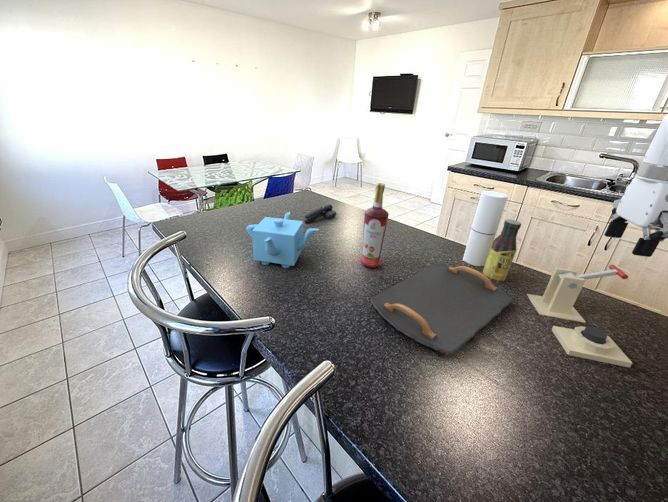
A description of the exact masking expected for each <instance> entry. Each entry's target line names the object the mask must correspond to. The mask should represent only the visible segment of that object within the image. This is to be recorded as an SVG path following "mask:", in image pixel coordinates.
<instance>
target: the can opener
mask: <svg viewBox="0 0 668 502" xmlns="http://www.w3.org/2000/svg"><path fill="white" fill-rule="evenodd" d="M336 215H337V212H336V211H335V210H333V205H332V204H327V205H321V207H319V208H316V209H314V210H312V211H311V212H308V213H307V214H306V215H305V216H304V220H303V223H305V224H310V223H312V222H314V221H316V220H318V219H319V218H321V217H323V218H325V219H327V220H329V219H330V220H331V219H332V218H334V217H336Z"/></svg>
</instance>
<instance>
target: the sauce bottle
mask: <svg viewBox="0 0 668 502" xmlns="http://www.w3.org/2000/svg"><path fill="white" fill-rule="evenodd" d="M521 227H522V222H520V221H519V220H514V219H510V218H509V219H505V220H504V223H503V228H502V230H501V232H500V234H499V235H498V236H496V237H495V239H494V242H493V245H492V247H491V249H490V252H489V255H488V258H487V260H486V263H485V266H483V269H482V274H484V275H485V276H487V277H488V278H489V279H490V281H491V282H492V283H496V284H503V283H504V282H505V280H506V278H507V276H508V273H509V270H510V269H511V266H512V263H513V260H514V258H515V256H516V253H517V237H518V233H519V230H520V229H521Z"/></svg>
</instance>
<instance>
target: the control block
mask: <svg viewBox="0 0 668 502" xmlns="http://www.w3.org/2000/svg"><path fill="white" fill-rule="evenodd" d="M586 327H587V326H582V325H579V326H575V327H574V329H573V328H570V327H569V328H568V327H563V326H557V325H552V328H551V332H552V333H553V334H554V336H555V338H556V339H557V341H558V343H559V344H560V345H561V347H562V349H563V350H564V351H565V353H566V354H567V355H568V356H572V357H575V358H581V359H586V360H590V361H596V362H600V363H605V364H611V365H615V366H620V367H623V368H624V367H625V368H631V366H633V362H632V361H631V359H630V358H629V357H628V356H627V355H626V354H625V352H623V350H622V349H621V347H619V346H618V344H617V343H616V342H615V341H614V340H613V339H612V338H611V337H610V336H609V335H607V338H606V340H605V342H604V343H603V344H598V343H594V342H592V341H590V340H588V339H587V338H585V337H584V336H583V335H582V333H583V331H584V329H585V328H586Z"/></svg>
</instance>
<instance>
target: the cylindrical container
mask: <svg viewBox="0 0 668 502" xmlns="http://www.w3.org/2000/svg"><path fill="white" fill-rule="evenodd" d="M508 197H509V195H508V194H506V193H504V192H500V191H496V190H482V191H481V193H480V196H479V200H478V203H477V207H476V210H475V213H474V218H473V221H472V225H471V229H470V232H469V235H468V239H467V242H466V246H465V250H464V252H463V253H464V254H463V257H462V261H464V262H465V263H467V264H469V265H471V266H475V267H484V266H485V263H486V260H487V258H488V255H489V252H490V249H491V247H492V245H493V242H494V240H495V238H496V235H497V233H498V229H499V226H500V224H501V223H500V222H501V219H502V216H503V213H504V211H505V207H506V204H507V201H508Z"/></svg>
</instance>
